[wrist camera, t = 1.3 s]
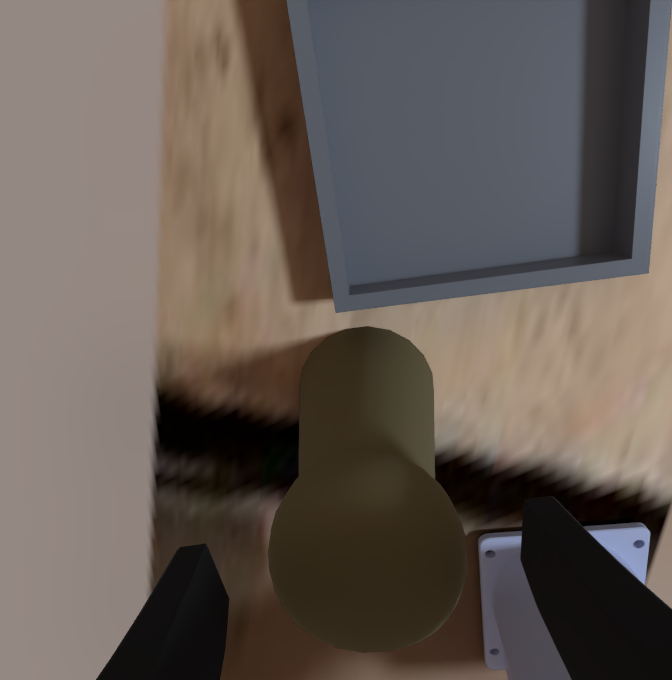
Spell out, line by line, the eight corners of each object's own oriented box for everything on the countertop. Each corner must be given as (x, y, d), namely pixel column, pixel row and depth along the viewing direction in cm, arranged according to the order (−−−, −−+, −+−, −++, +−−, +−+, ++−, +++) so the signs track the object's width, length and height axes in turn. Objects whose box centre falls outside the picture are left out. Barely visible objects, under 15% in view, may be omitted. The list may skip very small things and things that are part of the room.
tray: (620, 261, 18) (648, 273, 17) (338, 298, 20) (335, 312, 18) (642, -94, 15) (683, -132, 13) (289, -22, 16) (279, -46, 14)
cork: (297, 324, 20) (228, 495, 10) (439, 328, 20) (518, 508, 10) (300, 444, 22) (245, 685, 12) (428, 449, 22) (483, 701, 12)
